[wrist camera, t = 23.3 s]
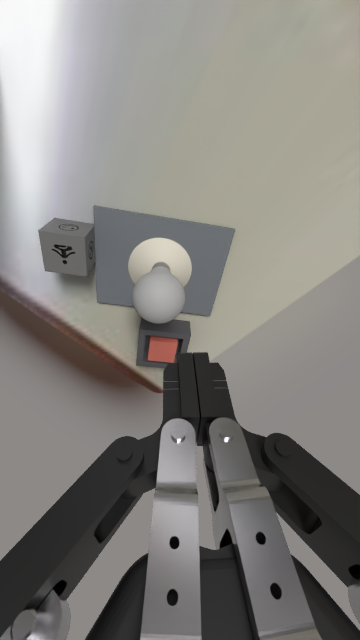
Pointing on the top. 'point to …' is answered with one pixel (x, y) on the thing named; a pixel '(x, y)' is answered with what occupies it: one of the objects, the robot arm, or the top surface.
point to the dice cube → (68, 247)
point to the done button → (162, 349)
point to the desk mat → (158, 255)
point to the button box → (162, 330)
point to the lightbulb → (158, 295)
